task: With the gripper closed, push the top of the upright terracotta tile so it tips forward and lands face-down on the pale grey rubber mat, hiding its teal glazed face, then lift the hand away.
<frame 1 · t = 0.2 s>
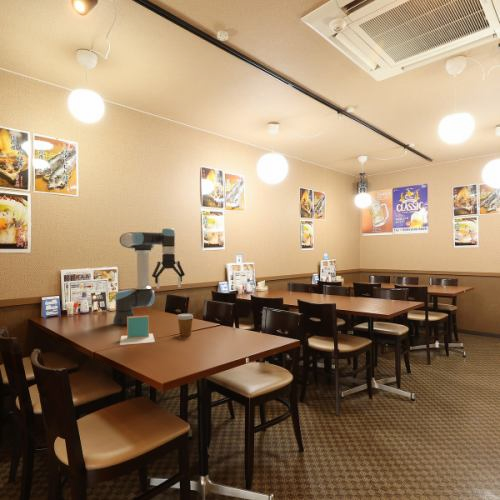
hand: (168, 288, 216), 28 cm above the table, tool pointing down, fingers open, 13 cm apart
mat: (137, 339, 199), on the table
disposable coffee cup: (185, 335, 210), on the table
tile: (138, 336, 204), point 1 cm above the table, touching mat
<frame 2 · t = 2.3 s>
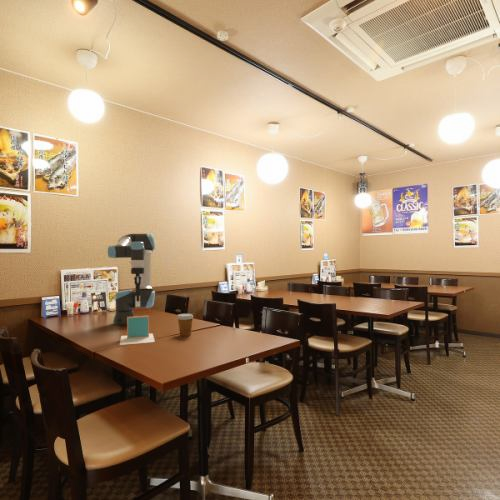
hand: (137, 306, 210), 17 cm above the table, tool pointing down, fingers closed
nothing on the table moved.
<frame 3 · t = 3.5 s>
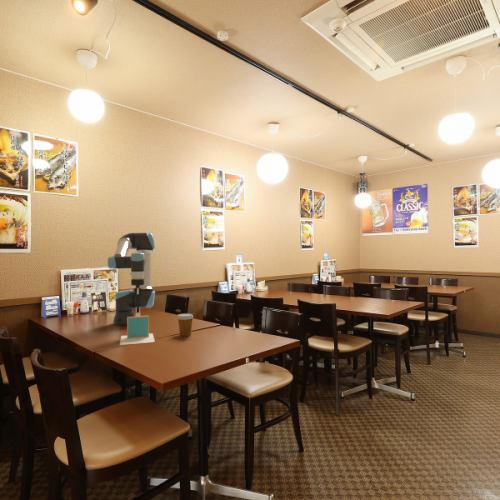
hand: (137, 317, 210), 10 cm above the table, tool pointing down, fingers closed
nothing on the table moved.
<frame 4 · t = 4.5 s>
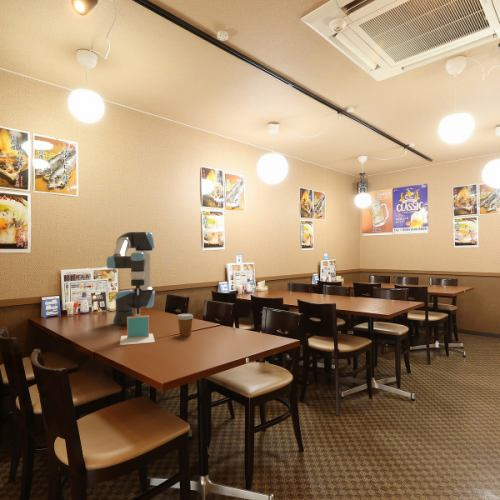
hand: (138, 319, 204), 11 cm above the table, tool pointing down, fingers closed
tile: (138, 336, 204), point 1 cm above the table, touching gripper, mat
everything else where it was.
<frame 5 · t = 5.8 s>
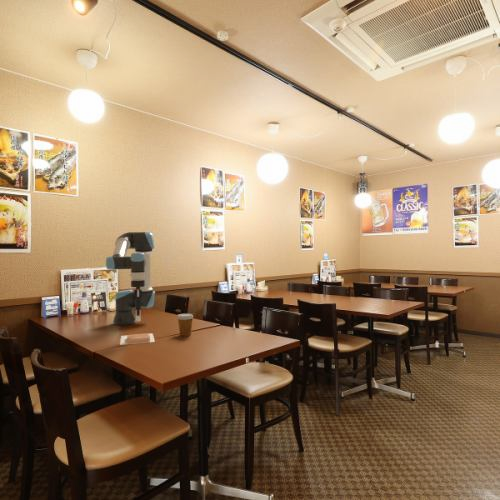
hand: (138, 321, 200), 10 cm above the table, tool pointing down, fingers closed
tile: (138, 334, 202), point 3 cm above the table, tilted 90°, touching mat
everything else where it was.
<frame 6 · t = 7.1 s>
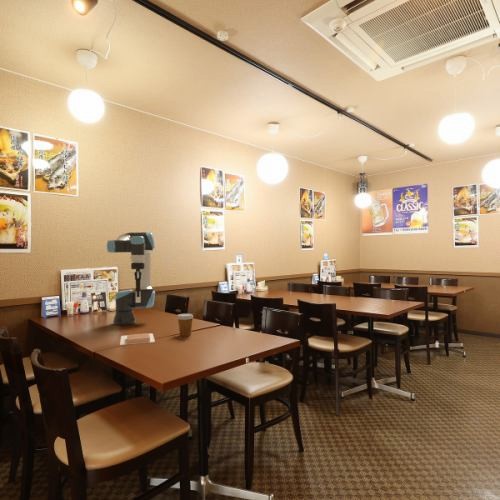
hand: (138, 302, 206), 20 cm above the table, tool pointing down, fingers closed
nothing on the table moved.
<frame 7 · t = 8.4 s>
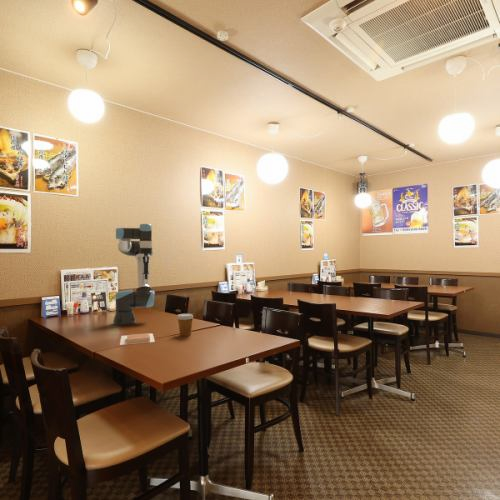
hand: (146, 284, 227), 29 cm above the table, tool pointing down, fingers closed
nothing on the table moved.
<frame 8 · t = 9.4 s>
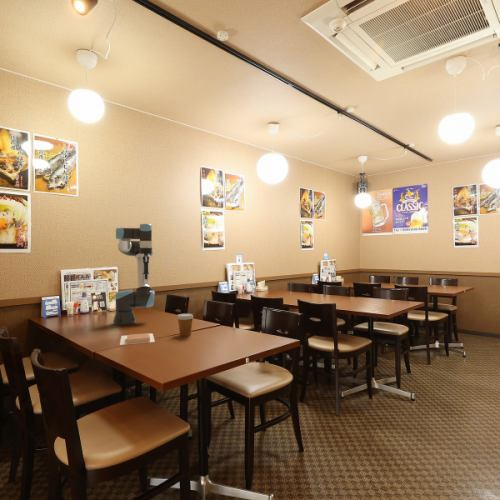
hand: (146, 284, 227), 29 cm above the table, tool pointing down, fingers closed
nothing on the table moved.
at the end: tile tilted 90°; tile inside the target area on the mat (1.6 cm from its centre), point 2.7 cm above the mat's base; tile touching mat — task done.
